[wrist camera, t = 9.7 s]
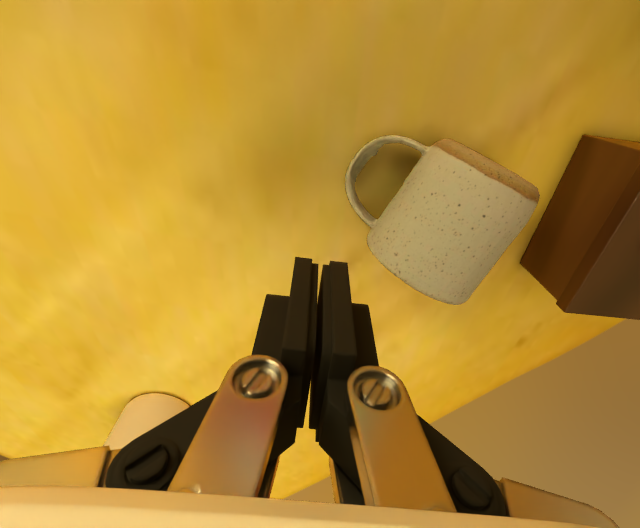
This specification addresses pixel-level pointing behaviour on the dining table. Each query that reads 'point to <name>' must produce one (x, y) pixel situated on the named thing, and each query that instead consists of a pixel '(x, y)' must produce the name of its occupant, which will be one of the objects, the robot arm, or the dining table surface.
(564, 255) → the tea box
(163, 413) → the milk bottle
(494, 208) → the ceramic mug
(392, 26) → the dining table surface
